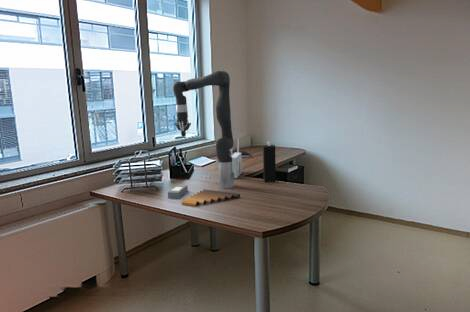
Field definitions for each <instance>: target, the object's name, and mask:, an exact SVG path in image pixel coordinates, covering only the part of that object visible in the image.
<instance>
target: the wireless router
mask: <svg viewBox="0 0 470 312" xmlns="http://www.w3.org/2000/svg"><path fill="white" fill-rule="evenodd" d="M236 152H237V153H241V159H243V158H250V157H251V156H252V155H251V154H250V153H249V152H248V151H246V150H240V138H239V137H238V138H237V150H234V146H233V147H232V149H230V150H229V155H230V156H232V155H233V154H234V153H236Z"/></svg>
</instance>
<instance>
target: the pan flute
mask: <svg viewBox="0 0 470 312" xmlns="http://www.w3.org/2000/svg"><path fill="white" fill-rule="evenodd" d="M240 198H241V194H240V193H239V192H238V193H237V192H228V191H223V190H222V191H220V190H212V189H205V188H204V189H203V190H200V191H199V192H196V193H193V195H189V197H188V196H186V197H185V198H182V199H181V205H184V206H189V207H198V206H205V205H207V204H208V205H209V204H211V205H212V204H213V203H217V204H218V203H219V202H226V201H227V200H228V201H232V200H234V199H240Z"/></svg>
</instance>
